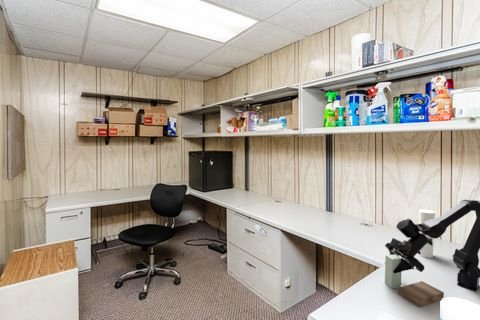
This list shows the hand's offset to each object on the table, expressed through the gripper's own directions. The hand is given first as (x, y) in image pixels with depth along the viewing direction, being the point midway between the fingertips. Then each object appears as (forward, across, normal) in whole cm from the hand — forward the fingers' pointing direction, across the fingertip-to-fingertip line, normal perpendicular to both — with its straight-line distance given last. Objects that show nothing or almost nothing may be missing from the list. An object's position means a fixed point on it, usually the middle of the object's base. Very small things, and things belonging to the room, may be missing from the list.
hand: (390, 269), depth 117 cm
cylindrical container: (-23, -26, +33) cm, 48 cm away
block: (+4, 0, +6) cm, 7 cm away
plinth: (0, +10, +10) cm, 14 cm away
